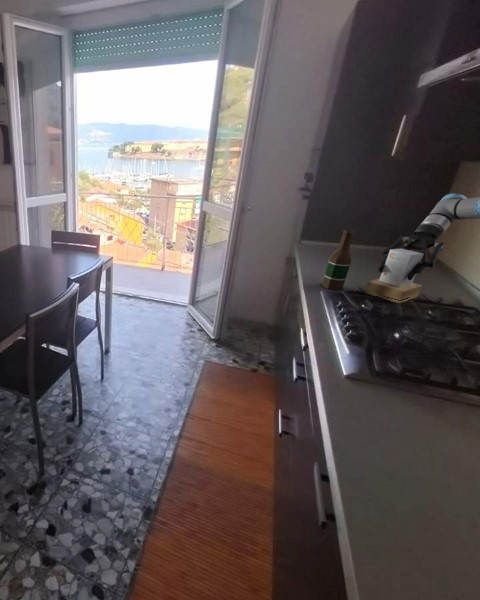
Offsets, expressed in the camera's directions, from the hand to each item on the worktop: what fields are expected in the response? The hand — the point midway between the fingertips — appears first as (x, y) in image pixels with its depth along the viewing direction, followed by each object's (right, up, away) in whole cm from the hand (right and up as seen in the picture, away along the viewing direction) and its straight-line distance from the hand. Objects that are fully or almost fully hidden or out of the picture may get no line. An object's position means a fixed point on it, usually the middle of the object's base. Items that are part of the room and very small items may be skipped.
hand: (394, 274), depth 138 cm
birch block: (+3, -8, +5) cm, 10 cm away
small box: (+3, -3, +3) cm, 6 cm away
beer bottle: (-15, -5, +13) cm, 20 cm away
